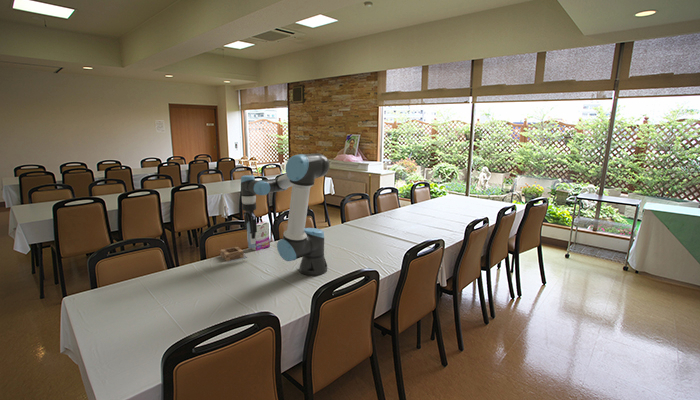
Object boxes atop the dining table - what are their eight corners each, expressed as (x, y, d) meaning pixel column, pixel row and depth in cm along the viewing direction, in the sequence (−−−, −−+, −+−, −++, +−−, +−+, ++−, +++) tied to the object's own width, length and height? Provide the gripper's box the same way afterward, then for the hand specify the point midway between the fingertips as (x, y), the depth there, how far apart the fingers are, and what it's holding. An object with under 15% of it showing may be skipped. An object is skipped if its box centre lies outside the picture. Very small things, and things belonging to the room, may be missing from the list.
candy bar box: (265, 245, 226) (264, 221, 223) (270, 246, 223) (269, 222, 220) (251, 249, 217) (249, 224, 214) (256, 251, 214) (254, 226, 211)
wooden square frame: (243, 257, 204) (243, 251, 203) (226, 261, 197) (226, 254, 197) (237, 252, 211) (237, 246, 210) (220, 256, 205) (220, 249, 204)
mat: (248, 258, 203) (248, 257, 203) (227, 262, 196) (227, 262, 196) (239, 251, 214) (239, 250, 214) (219, 255, 207) (219, 255, 207)
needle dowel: (256, 247, 199) (255, 221, 196) (249, 248, 197) (248, 222, 194) (253, 245, 202) (252, 219, 199) (247, 246, 200) (245, 220, 197)
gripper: (261, 204, 190) (263, 245, 195) (249, 199, 203) (252, 238, 208) (248, 206, 186) (251, 247, 190) (237, 201, 199) (239, 240, 203)
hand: (251, 242), depth 199 cm, fingers closed on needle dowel, 4 cm apart
